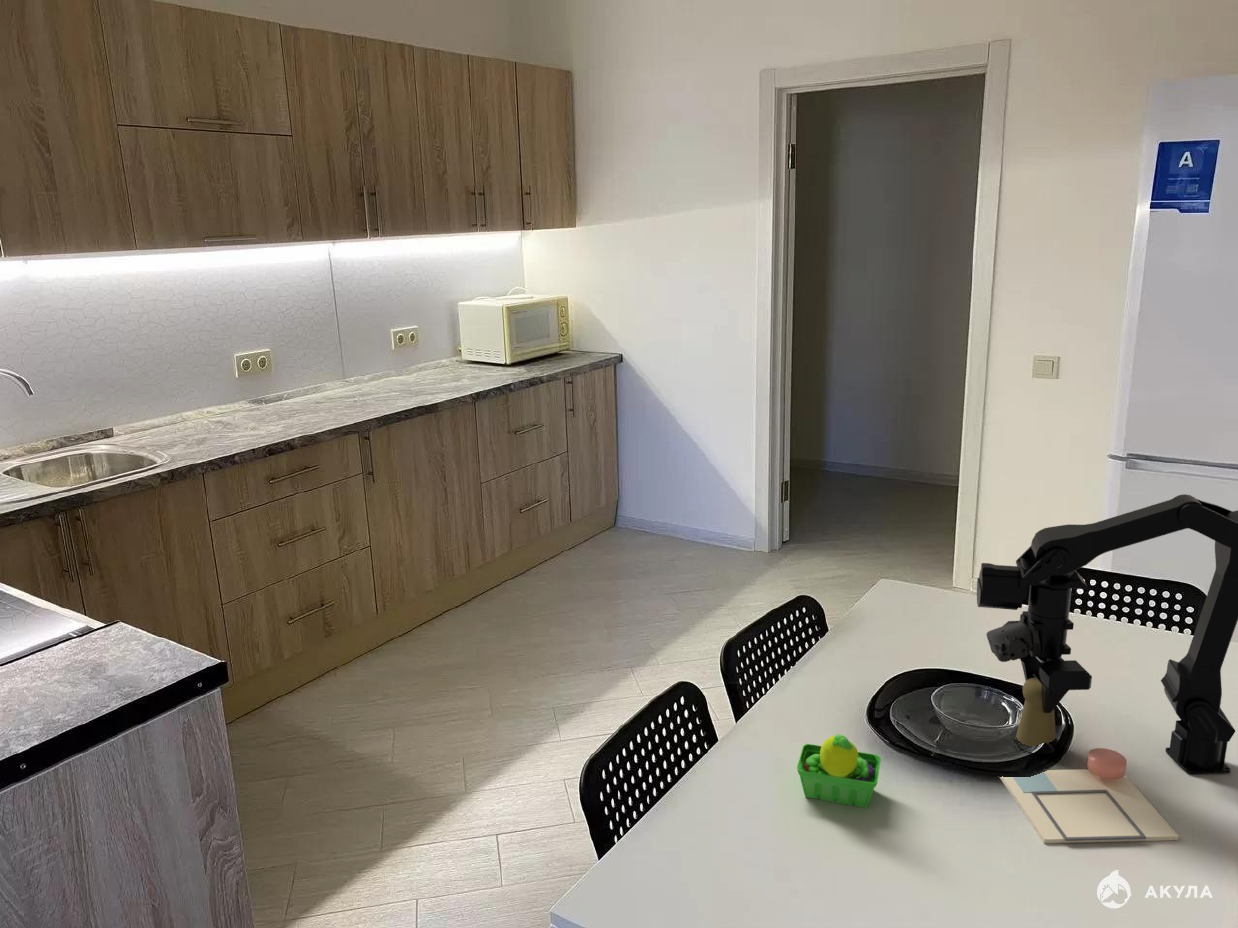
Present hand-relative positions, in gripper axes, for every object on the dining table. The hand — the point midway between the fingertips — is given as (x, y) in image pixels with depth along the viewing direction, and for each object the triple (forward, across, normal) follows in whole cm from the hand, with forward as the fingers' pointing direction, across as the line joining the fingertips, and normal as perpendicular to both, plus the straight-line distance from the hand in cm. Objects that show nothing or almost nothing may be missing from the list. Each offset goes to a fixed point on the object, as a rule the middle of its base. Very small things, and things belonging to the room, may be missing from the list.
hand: (1039, 703), depth 149 cm
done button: (+5, +10, +6) cm, 13 cm away
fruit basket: (+8, +12, -34) cm, 37 cm away
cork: (+7, 0, 0) cm, 7 cm away
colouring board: (+7, +16, 0) cm, 18 cm away
